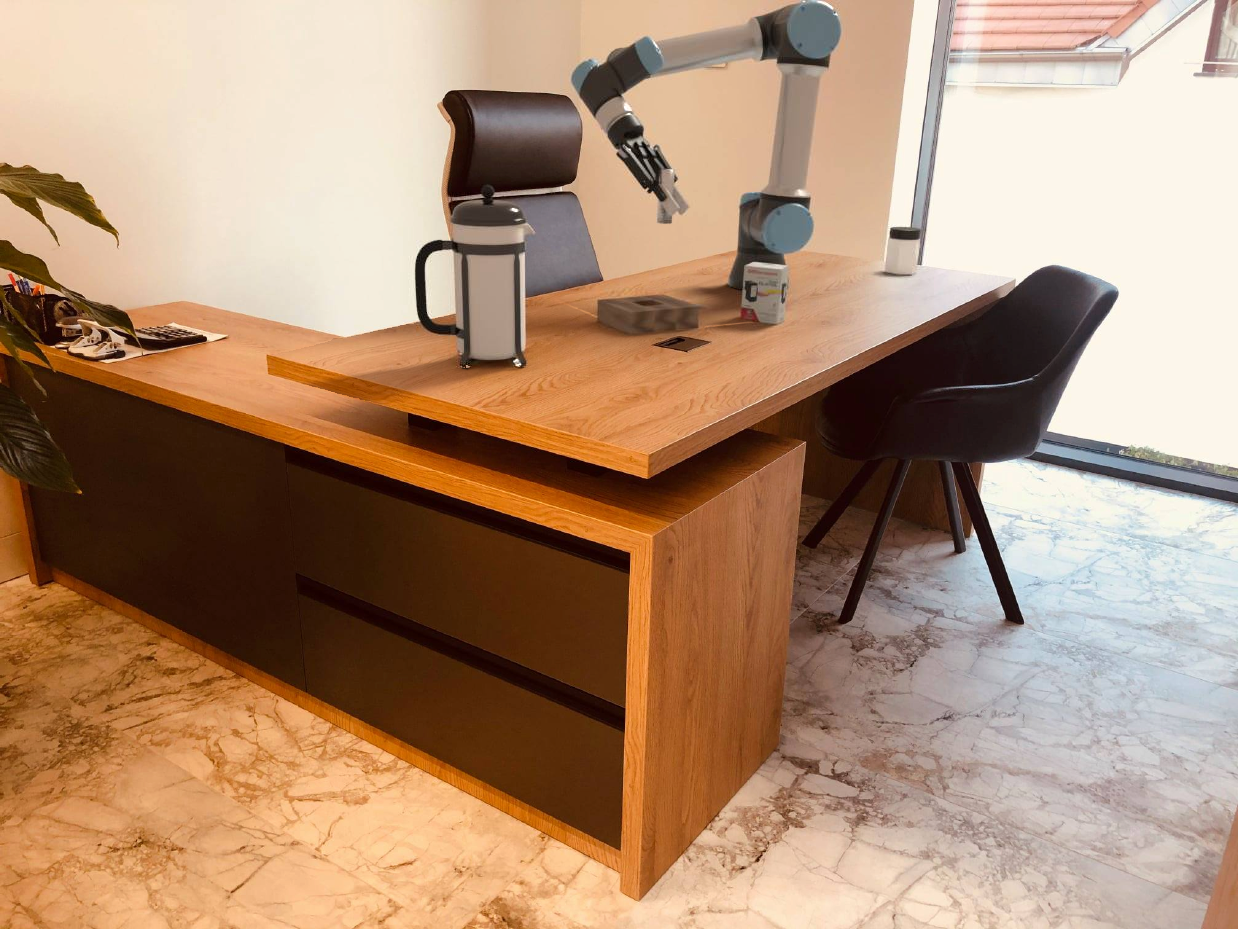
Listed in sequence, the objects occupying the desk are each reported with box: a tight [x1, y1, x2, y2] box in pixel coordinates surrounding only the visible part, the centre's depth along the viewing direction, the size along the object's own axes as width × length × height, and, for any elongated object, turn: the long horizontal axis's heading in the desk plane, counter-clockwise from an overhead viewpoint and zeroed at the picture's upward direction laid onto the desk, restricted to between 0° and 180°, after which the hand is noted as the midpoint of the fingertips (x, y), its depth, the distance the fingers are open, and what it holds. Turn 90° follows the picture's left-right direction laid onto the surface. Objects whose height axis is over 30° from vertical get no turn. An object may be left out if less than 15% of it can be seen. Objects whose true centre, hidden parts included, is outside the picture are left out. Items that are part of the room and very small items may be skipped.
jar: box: [884, 226, 922, 276], centre depth 278 cm, size 9×8×12 cm
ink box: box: [740, 262, 790, 325], centre depth 213 cm, size 9×5×12 cm, turn 62°
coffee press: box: [414, 184, 536, 369], centre depth 172 cm, size 17×16×30 cm
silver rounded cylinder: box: [656, 169, 676, 225], centre depth 214 cm, size 3×3×11 cm
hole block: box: [596, 293, 700, 336], centre depth 208 cm, size 16×14×4 cm
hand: (680, 211), depth 213 cm, fingers closed on silver rounded cylinder, 3 cm apart
